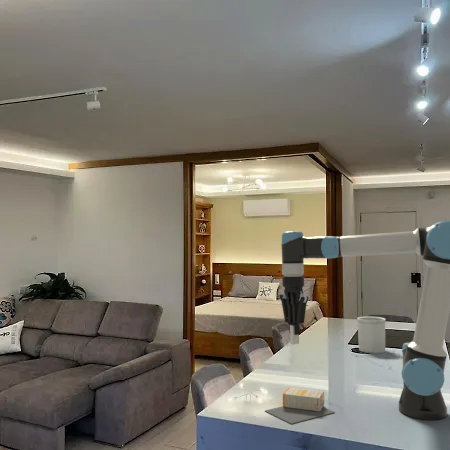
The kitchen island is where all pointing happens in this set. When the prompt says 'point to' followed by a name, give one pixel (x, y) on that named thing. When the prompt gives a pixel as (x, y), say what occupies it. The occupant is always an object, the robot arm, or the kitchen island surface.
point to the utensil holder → (371, 334)
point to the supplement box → (303, 399)
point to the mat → (297, 414)
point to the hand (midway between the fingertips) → (294, 343)
